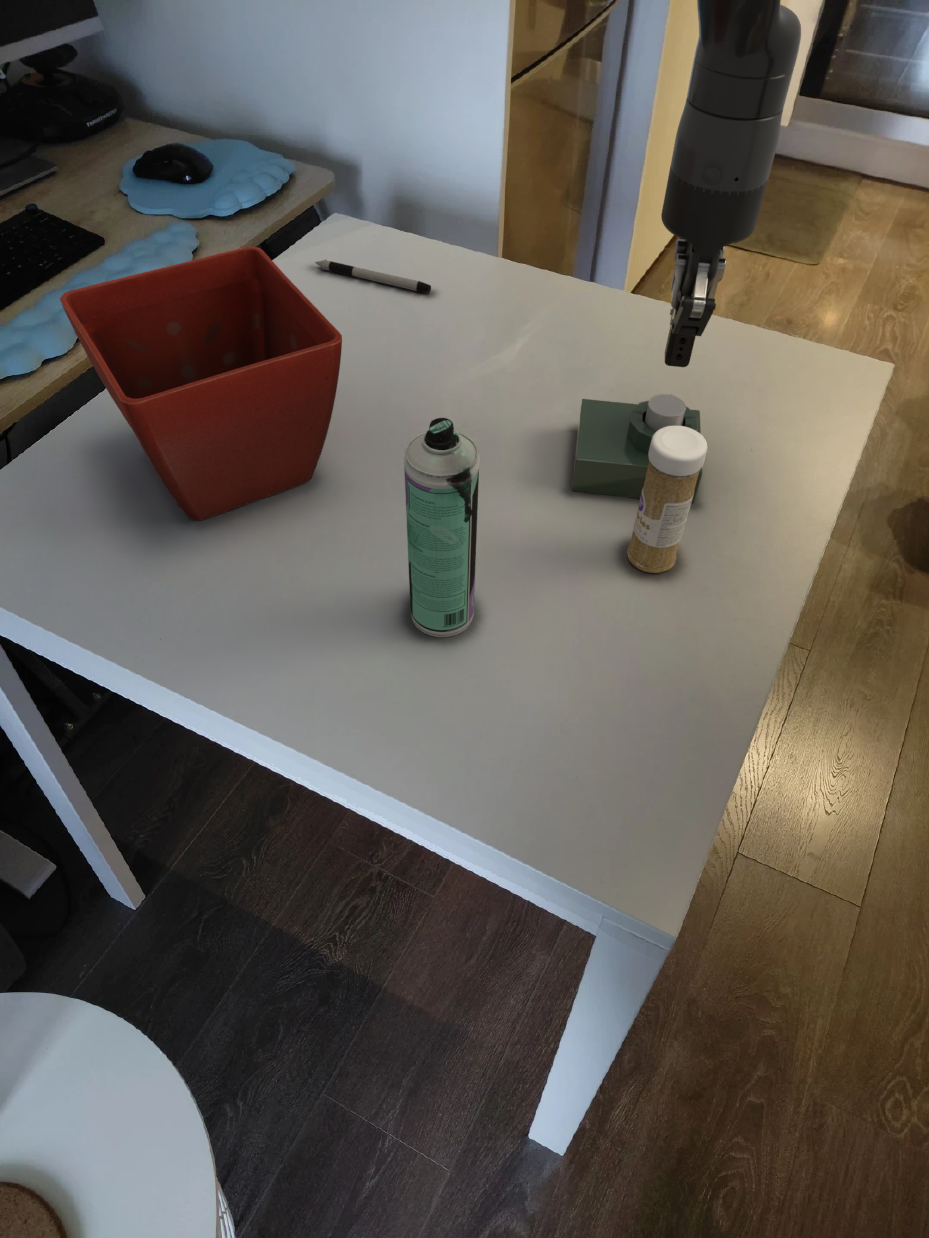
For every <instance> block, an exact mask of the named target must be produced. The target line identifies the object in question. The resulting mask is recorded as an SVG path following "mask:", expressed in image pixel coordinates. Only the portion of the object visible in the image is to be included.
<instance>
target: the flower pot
mask: <svg viewBox="0 0 929 1238" xmlns="http://www.w3.org/2000/svg"><path fill="white" fill-rule="evenodd" d="M59 301H60V304H61V305H62V308H63V310H64V312H65V315H66V317H67V319H68V321H69V323H70V325H71V327H72V329H73V332H74V333H75V335H76V337H77V339H78V341H79V343H80V345H81V346H82V348H83V350H84V352H85V354H86V355H87V357H88V359H89V362H90V363H91V365H92V367H93V369H94V370H95V372H96V373H97V375H98V377H99V379H100V380H101V382H102V384H103V386H104V388H105V389H106V390H107V392H108V394H109V395H110V397H111V399H112V400H113V402H114V404H115V405H116V407H117V409H118V410H119V412H120V413H121V415H122V416H123V418H124V420H125V421H126V422H127V424H128V426H129V428H130V429H131V430H132V432H133V434H134V435H135V438H136V439H137V441H138V443H139V445H140V446H141V448H142V450H143V451H144V454H145V455H146V457H147V459H148V461H149V462H150V465H151V467H153V469H154V471H155V473H156V474H157V476H158V478H159V479H160V482H162V484H163V486H164V487H165V489H166V490H167V492H168V493H169V495H170V496H171V498H172V500H174V502H175V503H176V505H177V506H178V508H179V509H180V510H181V511H182V512H183V513H184V514H185V516H186V517H187V518H189V520H192V521H194V522H196V521H197V522H198V521H199V522H200V521H202V520H203V521H204V520H206V519H209V518H212V517H215V516H217V515H220V514H223V513H226V512H230V511H232V510H234V509H237V508H241V507H243V506H246V505H248V504H251V503H254V502H256V501H260V500H262V499H265V498H269V497H271V496H274V495H277V494H279V493H283V492H285V491H288V490H291V489H293V488H296V487H298V486H302V485H304V484H307V483H309V482H310V481H311V480H312V478H313V476H314V473H315V471H316V470H317V469H316V468H317V466H318V463H319V460H320V457H321V455H322V452H323V448H324V445H325V442H326V439H327V435H328V432H329V428H330V424H331V420H332V417H333V416H332V415H333V410H334V407H335V402H336V395H337V391H338V390H337V388H338V385H339V384H338V383H339V376H340V369H341V368H340V367H341V360H342V348H343V335H342V333H341V332H340V331H339V330H338V329H337V328H336V327H335V326H334V324H333V323H331V322H330V321H329V320H328V319H327V317H326V316H324V315H323V313H322V312H321V311H320V310H319V309H318V308H317V306H315V305H314V304H313V303H312V301H311V300H309V298H308V297H307V296H306V295H304V293H303V292H302V290H300V289H299V288H298V287H297V285H295V284H294V283H293V282H292V281H291V279H289V277H288V276H287V275H286V274H285V273H284V272H283V270H281V268H279V266H278V265H277V264H276V263H275V262H274V261H273V260H272V259H271V257H269V255H268V254H267V253H265V251H264V250H263V249H262V248H260V247H257V246H244V247H240V248H237V249H232V250H229V251H225V252H220V253H216V254H212V255H208V256H205V257H200V258H196V259H192V260H189V261H184V262H181V263H180V262H179V263H177V264H172V265H168V266H165V267H160V268H155V269H152V270H148V271H144V272H139V273H135V274H132V275H127V276H124V277H119V278H115V279H111V280H108V281H102V282H98V283H94V284H91V285H87V286H83V287H79V288H74V289H71V290H68V291H66V292H64V293H63V294H62V295H61V296H60V298H59Z"/></svg>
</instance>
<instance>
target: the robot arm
mask: <svg viewBox="0 0 929 1238" xmlns="http://www.w3.org/2000/svg"><path fill="white" fill-rule="evenodd" d="M781 1H782V0H696V6H697V17H698V18H697V19H698V20H697V21H698V40H697V43H696V47H695V52H694V58H693V63H692V66H691V72H690V78H689V83H688V88H687V92H686V93H687V94H686V100H685V103H684V106H683V110H682V114H681V115H680V118H679V119H680V120H679V121H678V127H677V129H676V134H675V139H674V144H673V145H674V146H673V150H672V156H671V161H670V166H669V172H668V177H667V182H666V188H665V193H664V198H663V204H662V207H661V208H662V210H661V213H660V214H661V222H662V224H663V226H664V227H665V229H666V230H667V231H668V232H669V233H671V234H672V235H674V236H675V237H676V238H677V239H676V242H675V247H674V252H673V255H674V257H673V258H674V259H673V260H674V266H673V272H672V276H671V281H670V282H671V283H670V293H671V294H670V305H671V308H670V309H669V316H670V319H669V331H668V335H667V339H666V344H665V349H664V364H665V365H666V366H667V367H675V368H687V367H688V366H689V365H690V362H691V358H692V353H693V349H694V345H695V341H696V337H702V336H703V334H704V332H705V329H706V328H707V325H708V324H709V321H710V320H711V317H712V316H713V314H714V311H715V310H716V306H717V303H716V299H715V296H716V292H717V288H718V284H719V283H720V282H721V281H722V280H723V277H724V273H725V270H726V265H727V258H726V257H724V253H725V249H726V248H725V247H727V246H730V245H732V244H737V243H740V242H743V241H745V240H746V239H748V238H749V237H750V236H751V235H752V234H753V233H754V231H755V229H756V226H757V223H758V219H759V215H760V211H761V207H762V203H763V200H764V196H765V192H766V189H767V185H768V182H769V178H770V174H771V170H772V167H773V163H774V159H775V155H776V151H777V148H778V144H779V143H778V142H779V139H780V132H781V125H782V118H783V117H782V116H783V112H784V108H785V104H786V100H787V96H788V92H789V89H790V85H791V82H792V77H793V73H794V69H795V66H796V62H797V59H798V56H799V51H800V45H801V39H802V24H801V21H800V19H799V16H798V15H797V14H796V13H795V12H794V11H793V10H791V8H789V7H787V6H785V5H783V4H781Z"/></svg>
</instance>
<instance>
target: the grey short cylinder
mask: <svg viewBox="0 0 929 1238" xmlns="http://www.w3.org/2000/svg"><path fill="white" fill-rule="evenodd" d="M648 401H649V402H648V406H647V411H646V416H645V423H646V425H647V426H648V427H649V428H651V429H653V430H656V431H658V430H659V429H661V428H664V427H667V426H682V423H683V419H684V415H685V411H686V407H687V406H686V403H685V401H683V400H682V399H681V398H679V397H678V396H676V395H673V394H665V393H661V394H657V395H656V394H655V395H654V396H652V397H650V398H649V400H648Z"/></svg>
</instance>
